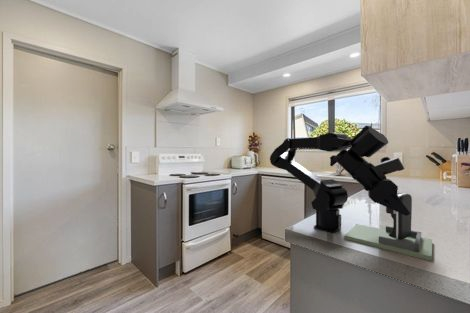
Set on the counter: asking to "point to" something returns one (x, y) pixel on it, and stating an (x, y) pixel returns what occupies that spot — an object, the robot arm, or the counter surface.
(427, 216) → the counter surface
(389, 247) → the mounting plate
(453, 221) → the counter surface
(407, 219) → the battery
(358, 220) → the counter surface
